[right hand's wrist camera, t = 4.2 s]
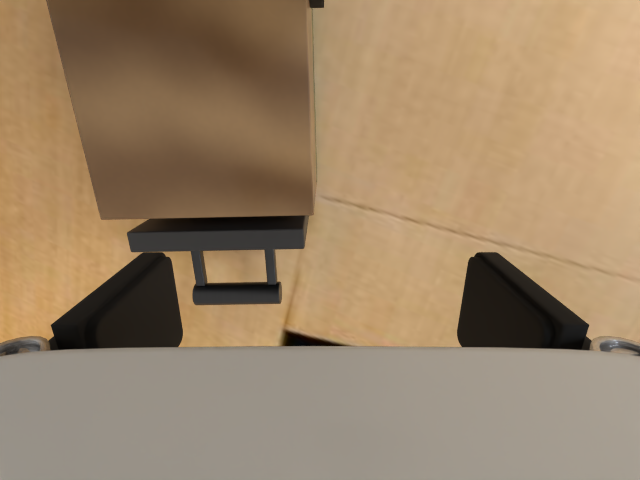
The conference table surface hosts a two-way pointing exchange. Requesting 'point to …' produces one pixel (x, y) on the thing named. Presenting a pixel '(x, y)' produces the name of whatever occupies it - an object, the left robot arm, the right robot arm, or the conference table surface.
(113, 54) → the cabinet
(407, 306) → the conference table surface
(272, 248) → the drawer
